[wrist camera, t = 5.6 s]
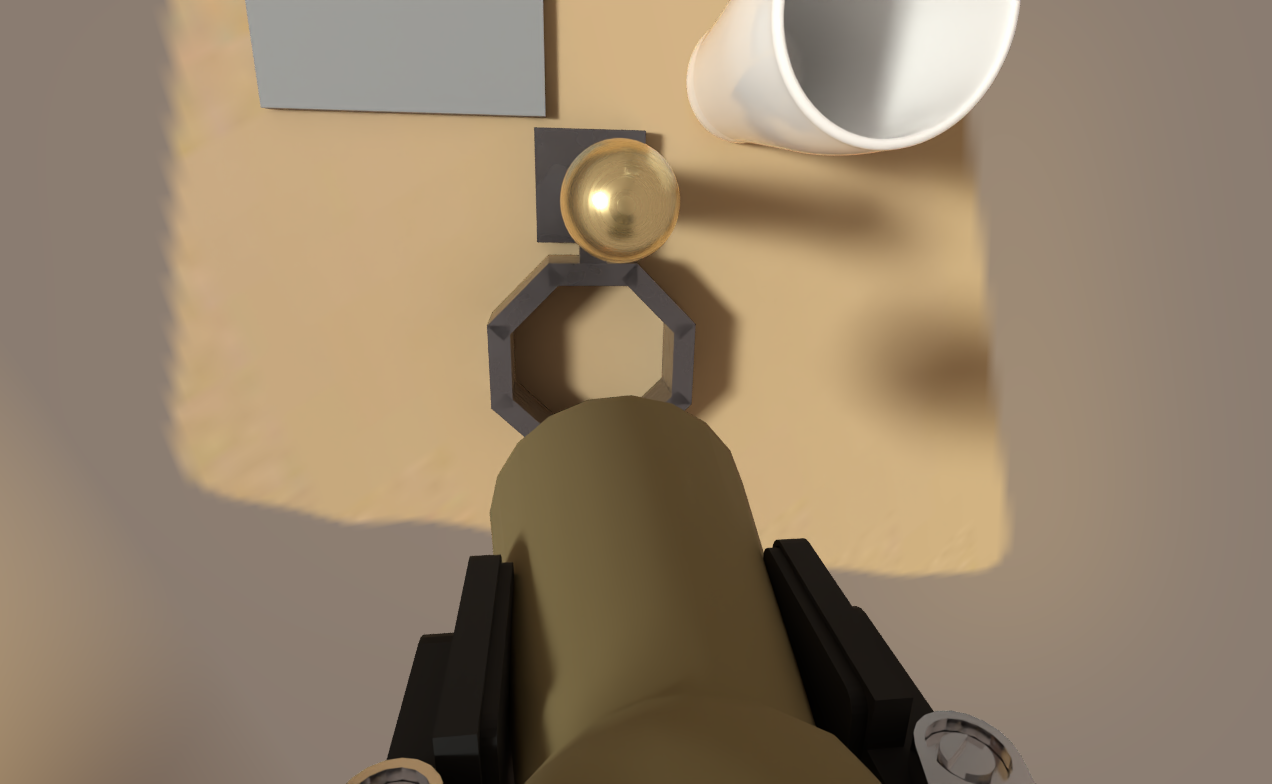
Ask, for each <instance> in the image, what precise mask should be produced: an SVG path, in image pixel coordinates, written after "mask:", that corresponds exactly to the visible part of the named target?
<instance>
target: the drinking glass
mask: <svg viewBox="0 0 1272 784" xmlns="http://www.w3.org/2000/svg"><path fill="white" fill-rule="evenodd" d="M1019 10H1020V0H729V1H728V3H727V5H726V6H725V8H724V9H723V11H722V12H721V14H720V15H719V17H718V18H717V20H716V21H715V23H714V24H713V26H712V27H711V28H710V29H709V30H708V31H707V32H706V33H705V34H704V35H703V36H702V38H701V39H700V40H699V42H698V43H697V45H696V47H695V49H694V51H693V53H692V55H691V58H690V61H689V65H688V70H687V81H686V84H687V94H688V99H689V102H690V105H691V108H692V110H693V112H694V114H695V116H696V118H697V119H698V120H699V122H700V123H701V124H702V125H703V127H704V128H705V129H707V130H708V131H709V132H710V133H711V134H713V135H715V136H716V137H718V138H720V139H722V140H725V141H728V142H733V143H754V144H759V145H765V146H770V147H775V148H780V149H784V150H789V151H794V152H800V153H806V154H814V155H830V156H845V155H858V154H869V153H877V152H883V151H888V150H896V149H902V148H907V147H911V146H914V145H917V144H920V143H923V142H925V141H927V140H930V139H932V138H934V137H936V136H938V135H939V134H941V133H943V132H945V131H946V130H948V129H949V128H951V127H952V126H954V125H955V124H956V123H957V122H958V121H960V120H961V119H962V118H963V117H965V116H966V115H967V114H968V113H969V112H970V111H971V110H972V109H973V108H974V107H975V106H976V104H977V103H978V102H979V101H980V100H981V98H982V97H983V96H984V95H985V93H986V92H987V91H988V89H989V88H990V87H991V85H992V83H993V82H994V80H995V79H996V77H997V75H998V73H999V71H1000V69H1001V68H1002V66H1003V64H1004V62H1005V59H1006V57H1007V55H1008V52H1009V50H1010V47H1011V44H1012V41H1013V38H1014V34H1015V30H1016V26H1017V22H1018V16H1019Z"/></svg>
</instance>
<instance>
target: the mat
mask: <svg viewBox="0 0 1272 784" xmlns="http://www.w3.org/2000/svg"><path fill="white" fill-rule="evenodd" d="M245 2H246V9H247V16H248V23H249V30H250V36H251V43H252V50H253V57H254V64H255V70H256V77H257V84H258V91H259V98H260V104H261V107H262V108H268V109H300V110H332V111H363V112H395V113H427V114H459V115H491V116H523V117H546V116H545V68H544V21H543V0H245Z"/></svg>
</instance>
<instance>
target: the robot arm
mask: <svg viewBox="0 0 1272 784" xmlns="http://www.w3.org/2000/svg"><path fill="white" fill-rule="evenodd" d="M763 559H764V563H765V566H766V569H767V572H768V575H769V578H770V581H771V584H772V587H773V590H774V593H775V597H776V600H777V603H778V606H779V609H780V612H781V615H782V618H783V621H784V624H785V627H786V631H787V634H788V637H789V640H790V643H791V646H792V649H793V652H794V655H795V658H796V661H797V665H798V668H799V671H800V675H801V678H802V681H803V684H804V688H805V691H806V694H807V698H808V701H809V704H810V708H811V711H812V714H813V718H814V721H815V724H816V727H817V728H820V729H822V730H824V731H827V732H829V733H831V734H833V735H835V736H836V737H837V738H838V739H839V740H840V741H841V742H842V743H843V744H844V745H845V746H846V747H847V748H848V749H849V750H850V751H851V752H852V753H853V754H854V755H855V756H856V757H857V758H858V759H859V760H860V761H861V762H862V763H863V764H864V765H865V766H866V767H867V768H868V769H869V770H870V771H871V772H872V773H873V774H874V776H875V777H876V778H877V779H878V780H879V781H880V782H881V783H882V784H1035V782H1034V780H1033V778H1032V776H1031V774H1030V772H1029V770H1028V768H1027V766H1026V764H1025V762H1024V760H1023V758H1022V756H1021V755H1020V753H1019V752H1018V750H1017V749H1016V747H1015V746H1014V745H1013V743H1012V742H1011V741H1010V740H1009V739H1008V738H1007V737H1006V736H1004V735H1003V734H1002V733H1001V732H1000V731H999V730H997V729H996V728H994V727H993V726H991V725H989V724H988V723H986V722H985V721H983V720H980V719H978V718H975V717H973V716H971V715H968V714H965V713H960V712H955V711H935V712H934V711H933V710H932V708H931V707H930V705H929V704H928V703H927V701H926V700H925V698H924V697H923V695H922V694H921V692H920V691H919V690H918V688H917V687H916V685H915V684H914V682H913V681H912V679H911V678H910V677H909V675H908V674H907V672H906V671H905V669H904V668H903V666H902V665H901V664H900V663H899V661H898V659H897V658H896V656H895V655H894V654H893V652H892V651H891V650H890V648H889V646H888V645H887V644H886V642H885V641H884V639H883V638H882V636H881V635H880V633H879V632H878V630H877V629H876V628H875V626H874V625H873V623H872V622H871V621H870V619H869V618H868V616H867V615H866V613H865V612H864V611H863V610H862V609H861V608H859V607H857V606H851V604H850V602H849V601H848V599H847V598H846V597H845V595H844V594H843V592H842V591H841V589H840V588H839V586H838V585H837V583H836V582H835V580H834V579H833V577H832V576H831V574H830V573H829V571H828V570H827V568H826V567H825V565H824V564H823V562H822V561H821V559H820V558H819V556H818V555H817V553H816V552H815V551H814V549H813V548H812V546H811V545H810V543H809V542H808V541H807V540H806V539H804V538H801V539H782V540H776V541H774V544H773V548H766V549H765V551H764V555H763ZM513 584H514V566H513V562H503V563H502V556H501V554H500V555H482V556H470V558H469V562H468V567H467V572H466V576H465V582H464V586H463V591H462V596H461V601H460V606H459V611H458V616H457V621H456V626H455V630H454V633H443V634H429V635H423V636H422V637H421V638H420V641H419V644H418V647H417V651H416V654H415V658H414V662H413V666H412V669H411V673H410V676H409V680H408V684H407V688H406V691H405V695H404V698H403V702H402V706H401V710H400V713H399V717H398V720H397V724H396V728H395V731H394V735H393V739H392V742H391V746H390V750H389V754H388V758H387V760H385V761H383V762H380V763H378V764H375V765H372V766H370V767H367V768H366V769H364V770H363V771H361V772H360V773H358V774H357V775H355V776H354V777H352V778H351V779H350V780H349V781H348V782H347V783H346V784H514V773H513V762H512V752H511V741H510V730H509V700H510V663H511V626H512V603H513Z"/></svg>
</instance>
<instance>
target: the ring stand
mask: <svg viewBox="0 0 1272 784" xmlns="http://www.w3.org/2000/svg"><path fill="white" fill-rule="evenodd" d="M534 136H535V175H536V213H537V242H557V243H577V244H578V245H579V255H548V256H547V257H546V258H545V259H544V260H543V261H542V262H541V263H540V264H539V265H538V266H537V267H536V268H535V269H534V270H533V271H532V272H531V273H530V274H529V275H528V277H527V278H526V279H525V280H524V281H523V282H522V283H521V284H520V285H519V286H518V287H517V288H516V289H515V290H514V291H513V292H512V293H511V294H510V295H509V296H508V297H507V298H506V299H505V300H504V301H503V302H502V303H501V304H500V305H499V306H498V307H497V308H496V309H495V310H494V311H493V312H492V314H491V317H490V320H489V322H488V325H487V333H488V353H489V372H490V391H491V409H493V410H494V411H495V412H496V413H497V414H498V415H500V416H501V417H502V418H503V419H504V420H505V421H507V422H508V423H509V424H510V425H511V426H512V427H514V428H515V429H516V430H517V431H518V432H519V433H521V434H522V435H523V436H524V437H525V436H527V435H528V434H529V433H530V432H531V431H533V430H534V429H535V428H536V427H537V426H538V425H540V424H541V423H542V422H543V421H544V420H546V419H547V418H548V417H549V416H551V415H554V414H553V413H552V412H551V411H549V410H548V409H547V408H546V407H545V406H544V405H543V404H542V403H540V402H539V401H538V400H537V399H536V398H535V397H534V396H533V395H531V394H530V393H529V392H528V391H527V390H526V389H525V388H524V387H522V386H521V385H520V384H519V383H518V382H517V381H516V376H515V350H514V330H515V329H516V328H517V327H518V326H519V325H520V324H521V323H522V322H523V321H524V320H525V319H526V318H527V317H528V316H529V315H530V314H531V313H532V312H533V311H534V310H535V309H536V308H537V307H538V306H539V305H540V304H541V303H542V302H543V301H544V300H545V299H546V298H547V297H548V296H549V295H550V294H551V293H552V292H553V291H554V290H555V289H556V288H557V287H558V286H629V287H630V289H631V290H632V291H633V292H634V293H635V294H636V295H637V296H638V297H639V298H640V299H641V300H642V301H643V302H644V303H645V304H646V305H647V306H648V307H649V308H650V309H651V310H652V311H653V312H654V313H655V314H656V315H657V316H658V317H659V318H660V319H661V320H662V321H663V322H664V329H663V358H662V378H661V379H660V380H659V381H658V382H657V383H656V384H655V385H654V386H653V387H652V388H651V389H650V390H649V391H648V392H647V393H645V394H644V395H643V396H642V398H647V399H652V400H657V401H662V402H667V403H672V404H674V405H675V406H677V407H679V408H681V409H683V410H684V411H685V410H686V409H687V408H688V407H689V406H690V405H691V403H692V384H693V364H694V344H695V325H696V324H695V323H694V322H693V321H692V320H691V319H690V318H689V317H688V316H687V314H686V313H685V312H684V311H683V310H682V309H681V308H680V307H679V306H678V305H677V304H676V303H675V302H674V301H673V300H672V299H671V298H670V297H669V296H668V295H667V294H666V293H665V292H664V291H663V290H662V288H661V287H660V286H659V285H658V284H657V283H656V282H655V281H654V280H653V279H652V278H651V277H650V276H649V275H648V274H647V273H646V272H645V271H644V270H643V269H642V268H641V267H640V265H639V264H638V263H637V262H636V261H637V260H640V259H643V258H645V257H647V256H649V255H651V254H652V253H654V252H655V251H656V250H658V249H659V248H660V247H661V246H662V245H663V244H664V243H665V242H666V240H667V239H668V238H669V236H670V235H671V233H672V231H673V229H674V227H675V225H676V222H677V219H678V215H679V210H680V192H679V186H678V183H677V179H676V177H675V174H674V172H673V170H672V169H671V167H670V165H669V164H668V162H667V161H666V160H665V159H664V158H663V157H662V156H661V155H660V154H659V153H658V152H657V151H656V150H654V149H653V148H652V147H650V146H648V145H646V131H639V130H605V129H571V128H537V127H534Z"/></svg>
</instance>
